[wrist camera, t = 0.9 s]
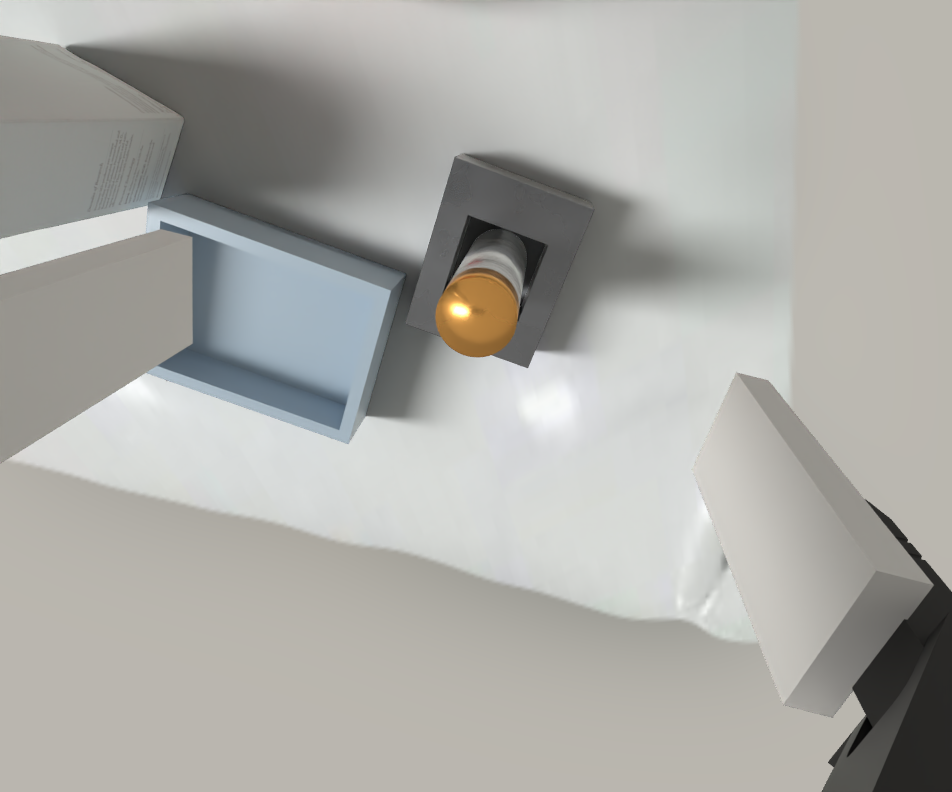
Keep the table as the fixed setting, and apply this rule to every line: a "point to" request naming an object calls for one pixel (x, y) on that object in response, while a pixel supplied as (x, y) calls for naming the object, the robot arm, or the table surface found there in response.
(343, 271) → the tray
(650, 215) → the table surface
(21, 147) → the skincare box
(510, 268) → the copper top battery
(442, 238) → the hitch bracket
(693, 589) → the table surface
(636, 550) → the table surface
